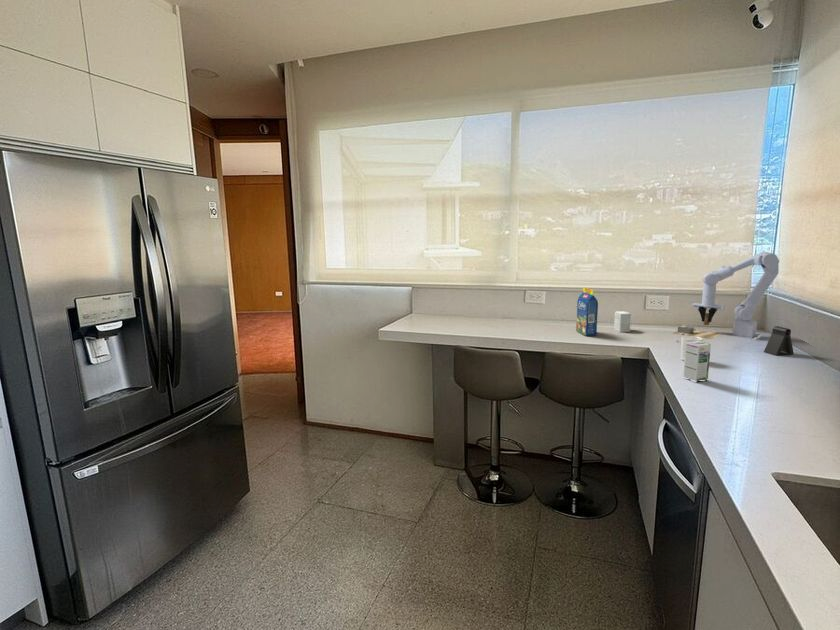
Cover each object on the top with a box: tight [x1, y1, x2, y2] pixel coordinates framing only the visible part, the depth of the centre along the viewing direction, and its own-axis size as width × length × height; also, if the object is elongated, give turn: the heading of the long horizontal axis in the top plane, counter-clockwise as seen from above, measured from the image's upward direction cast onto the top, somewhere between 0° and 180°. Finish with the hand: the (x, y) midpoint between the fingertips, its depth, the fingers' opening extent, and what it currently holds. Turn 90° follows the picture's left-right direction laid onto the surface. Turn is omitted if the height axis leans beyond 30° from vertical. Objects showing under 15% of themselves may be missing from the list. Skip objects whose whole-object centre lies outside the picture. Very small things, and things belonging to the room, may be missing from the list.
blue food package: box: [575, 287, 599, 337], centre depth 239 cm, size 6×12×25 cm, turn 4°
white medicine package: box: [680, 335, 704, 360], centre depth 189 cm, size 8×8×10 cm
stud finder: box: [677, 325, 695, 334], centre depth 234 cm, size 6×4×3 cm
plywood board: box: [673, 328, 722, 340], centre depth 232 cm, size 18×16×1 cm
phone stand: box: [763, 325, 795, 357], centre depth 196 cm, size 9×6×12 cm, turn 97°
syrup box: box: [683, 341, 712, 381], centre depth 165 cm, size 6×6×14 cm
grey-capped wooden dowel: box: [703, 312, 710, 326], centre depth 232 cm, size 2×2×6 cm
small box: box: [613, 310, 632, 333], centre depth 245 cm, size 8×6×10 cm
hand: (706, 321), depth 232 cm, fingers closed on grey-capped wooden dowel, 2 cm apart
